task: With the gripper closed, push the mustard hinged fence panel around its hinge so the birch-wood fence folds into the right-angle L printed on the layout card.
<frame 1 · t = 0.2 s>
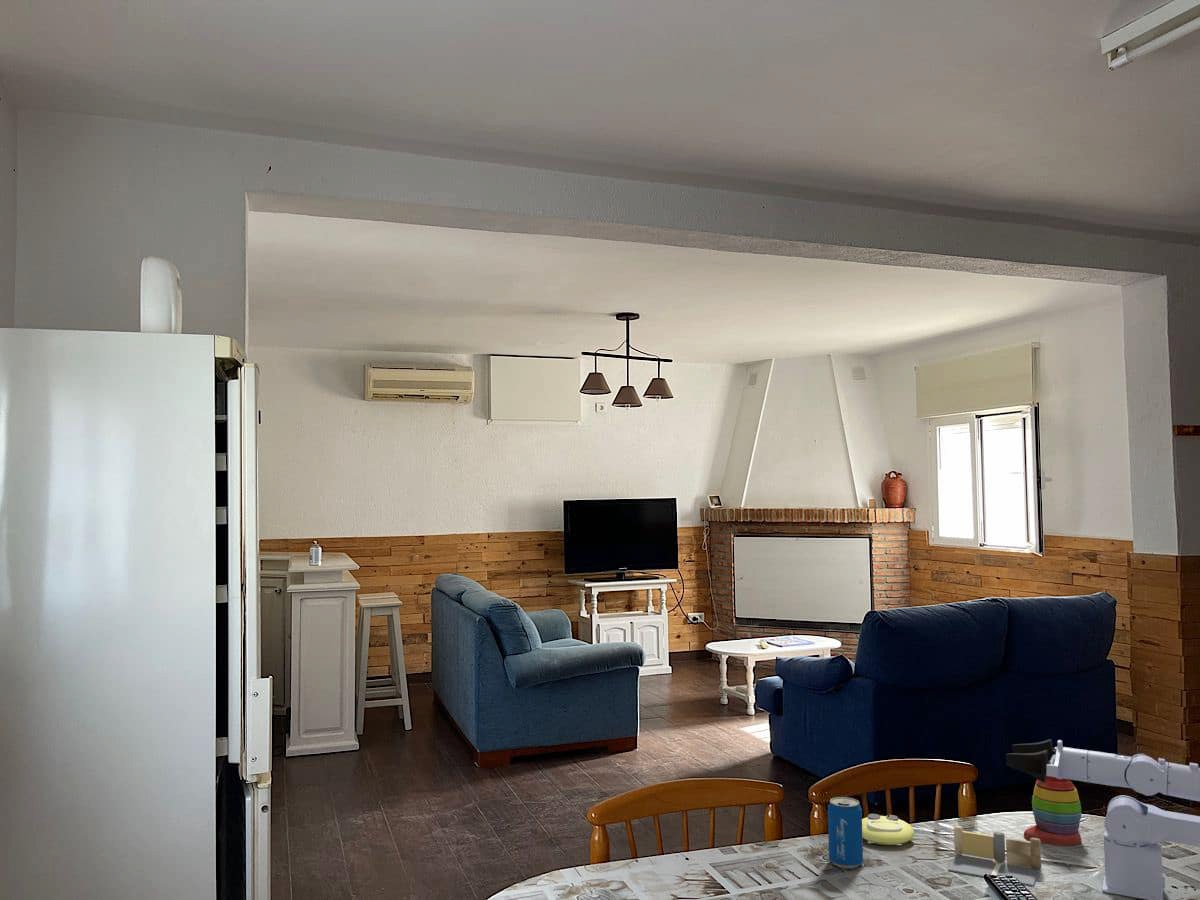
hand: (1009, 754, 185), 22 cm above the table, tool horizontal, fingers open, 7 cm apart
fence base: (999, 863, 186), resting on layout card
layout card: (995, 867, 184), on the table
beverage can: (845, 864, 187), on the table
fence panel: (979, 843, 188), point 3 cm above the table, hinge at 0.0°
stacking bear: (1055, 839, 200), on the table
emoji: (884, 840, 201), on the table
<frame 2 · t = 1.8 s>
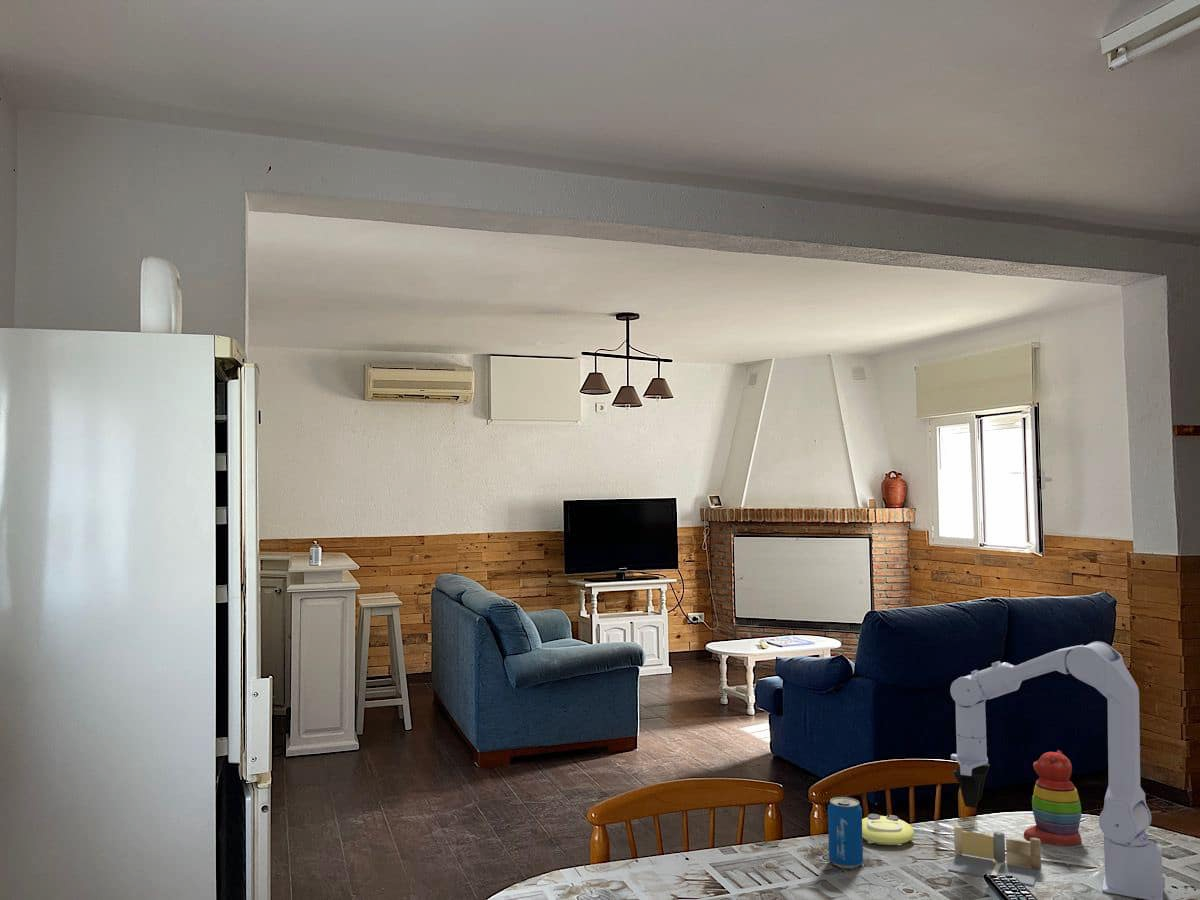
hand: (973, 803, 194), 9 cm above the table, tool pointing down, fingers open, 5 cm apart
nothing on the table moved.
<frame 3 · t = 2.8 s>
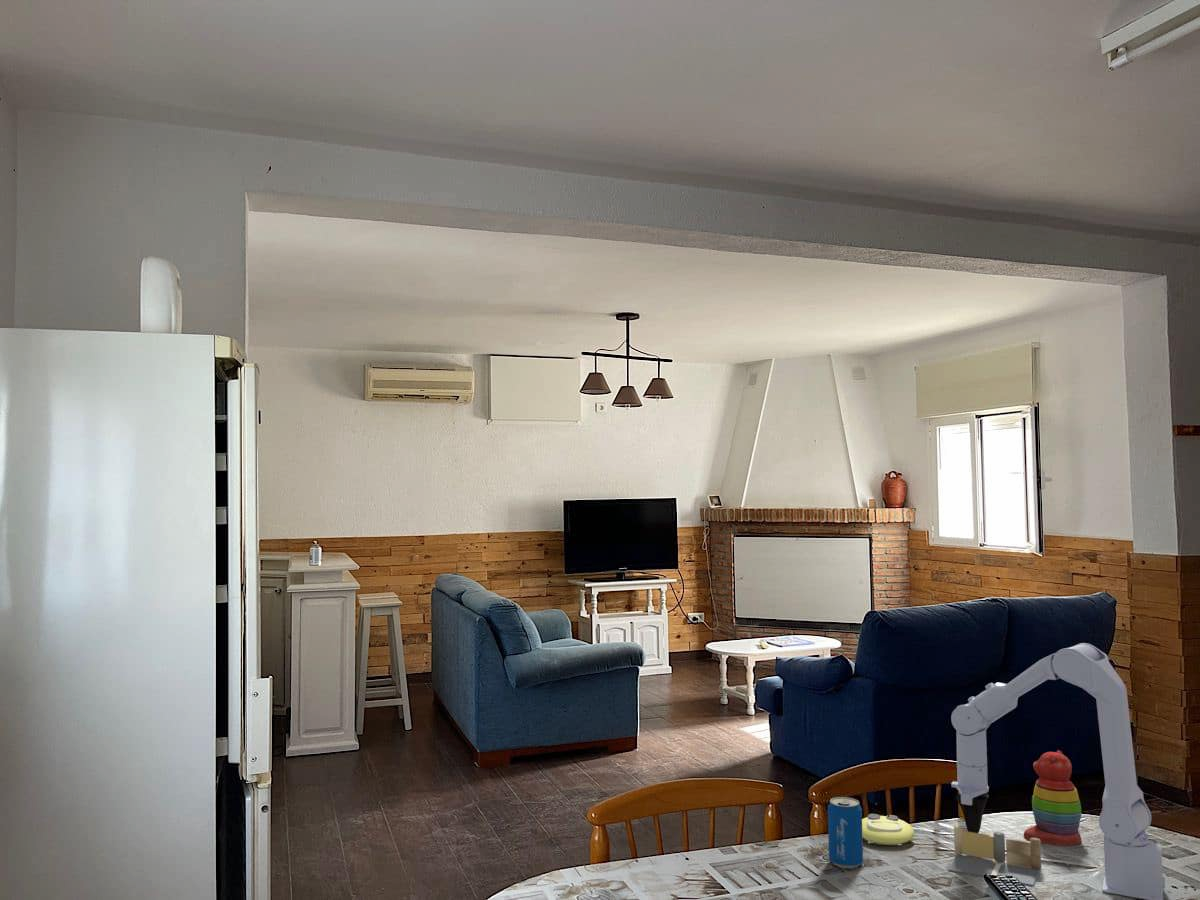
hand: (973, 831, 194), 4 cm above the table, tool pointing down, fingers closed
nothing on the table moved.
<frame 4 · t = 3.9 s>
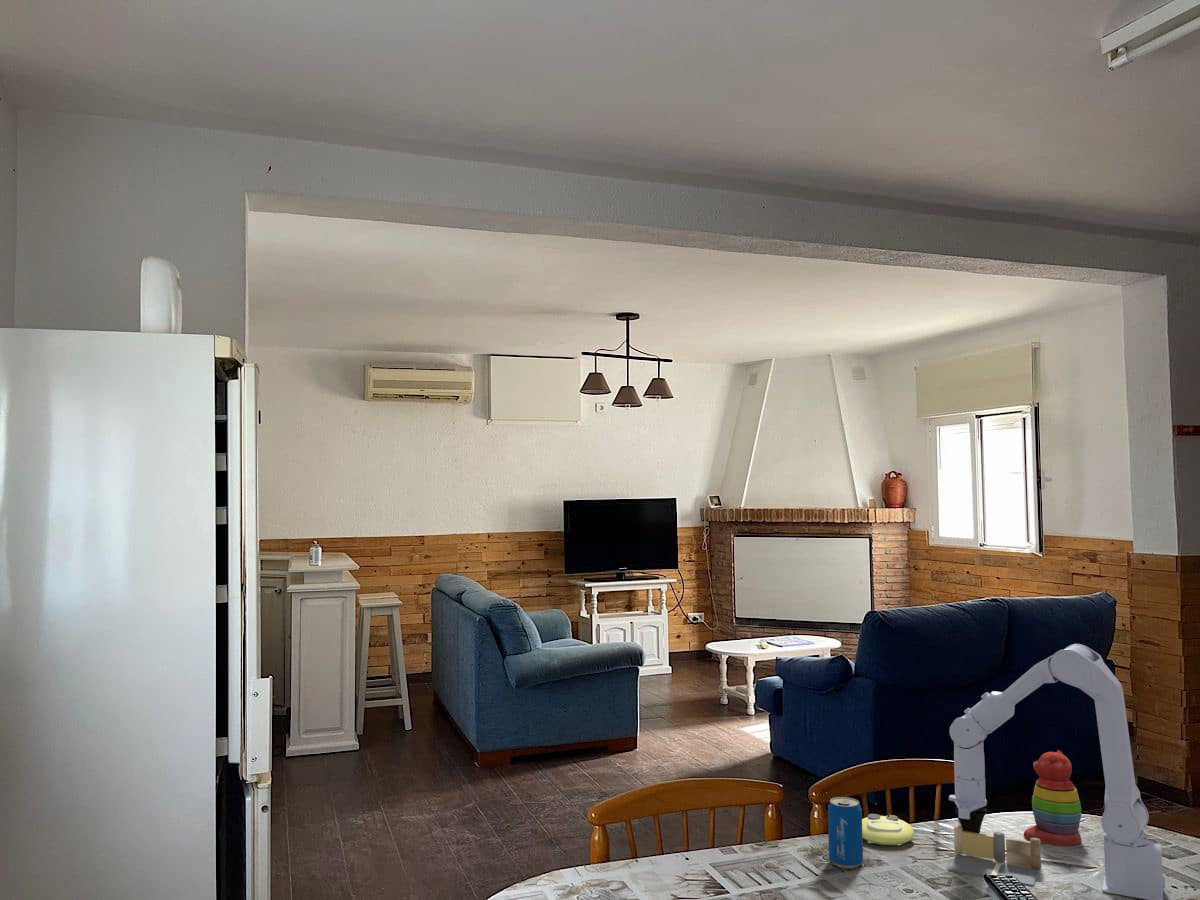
hand: (971, 845, 191), 2 cm above the table, tool pointing down, fingers closed, pressing on fence panel
fence panel: (979, 843, 188), point 3 cm above the table, hinge at 0.3°, touching gripper
everything else where it was.
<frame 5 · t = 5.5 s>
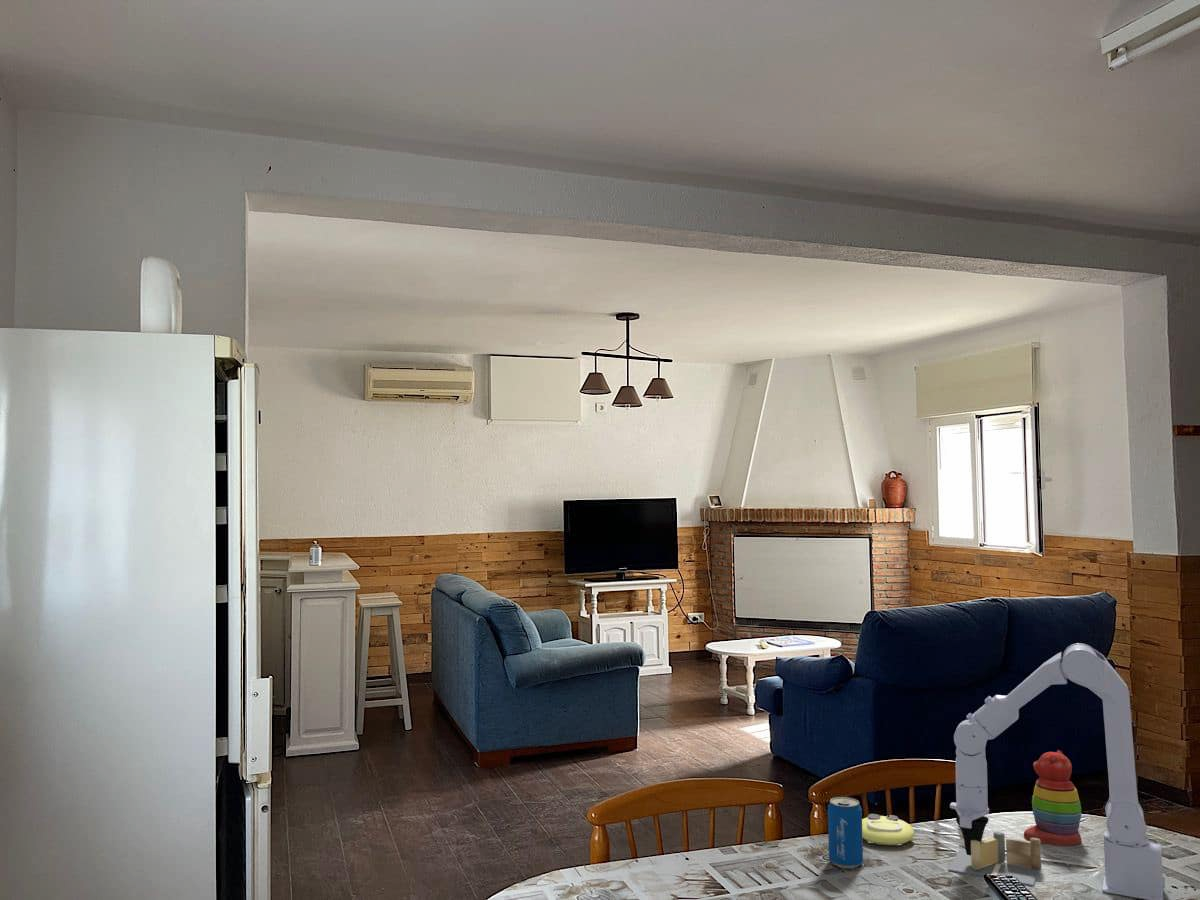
hand: (972, 854, 185), 2 cm above the table, tool pointing down, fingers closed, pressing on fence panel
fence panel: (987, 850, 184), point 3 cm above the table, hinge at 64.6°, touching gripper
everything else where it was.
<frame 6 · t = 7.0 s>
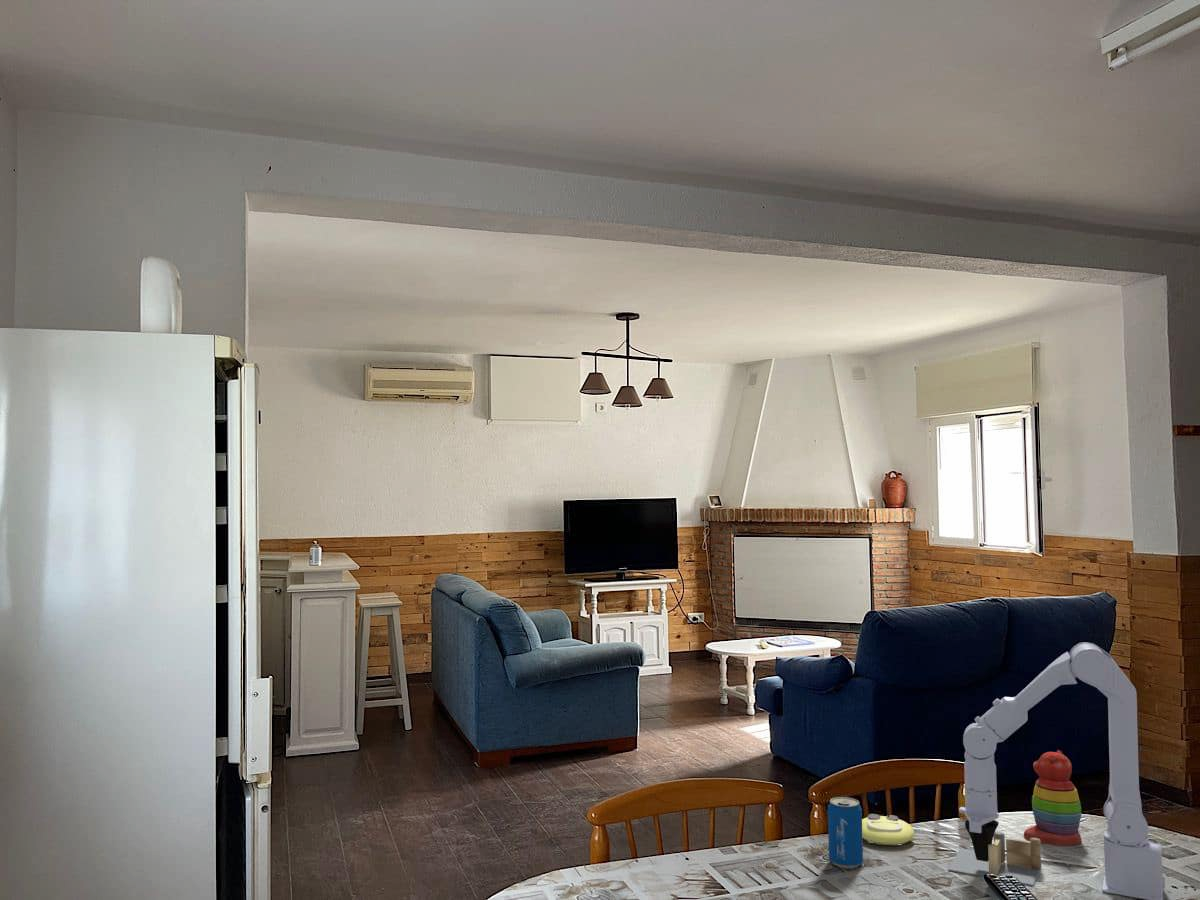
hand: (982, 860, 183), 2 cm above the table, tool pointing down, fingers closed, pressing on fence panel
fence panel: (996, 852, 183), point 3 cm above the table, hinge at 89.8°, touching gripper
everything else where it was.
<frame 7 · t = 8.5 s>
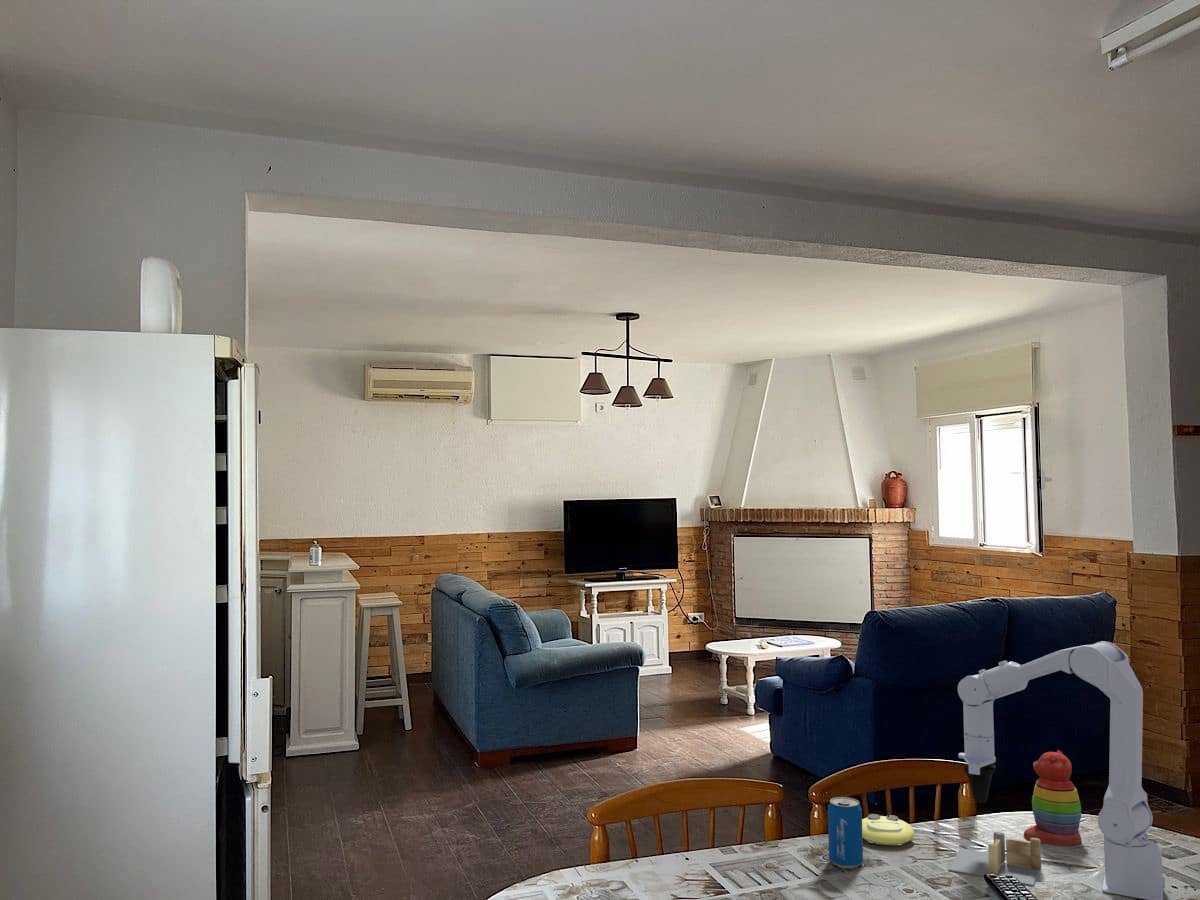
hand: (980, 801, 195), 9 cm above the table, tool pointing down, fingers closed
fence panel: (996, 852, 183), point 3 cm above the table, hinge at 89.8°
everything else where it was.
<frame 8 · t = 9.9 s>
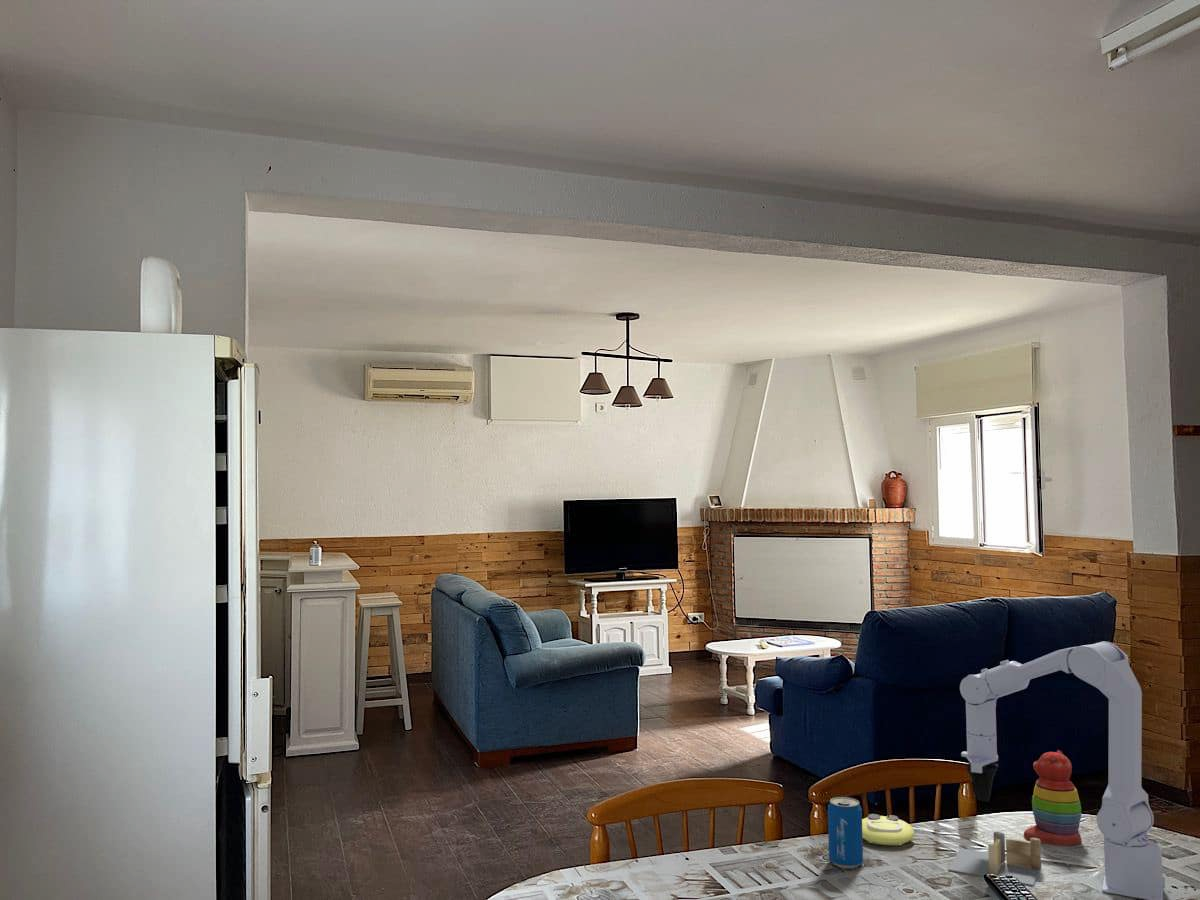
hand: (983, 800, 196), 9 cm above the table, tool pointing down, fingers closed
nothing on the table moved.
at the end: fence panel at +90° (first picture: +0°) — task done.
